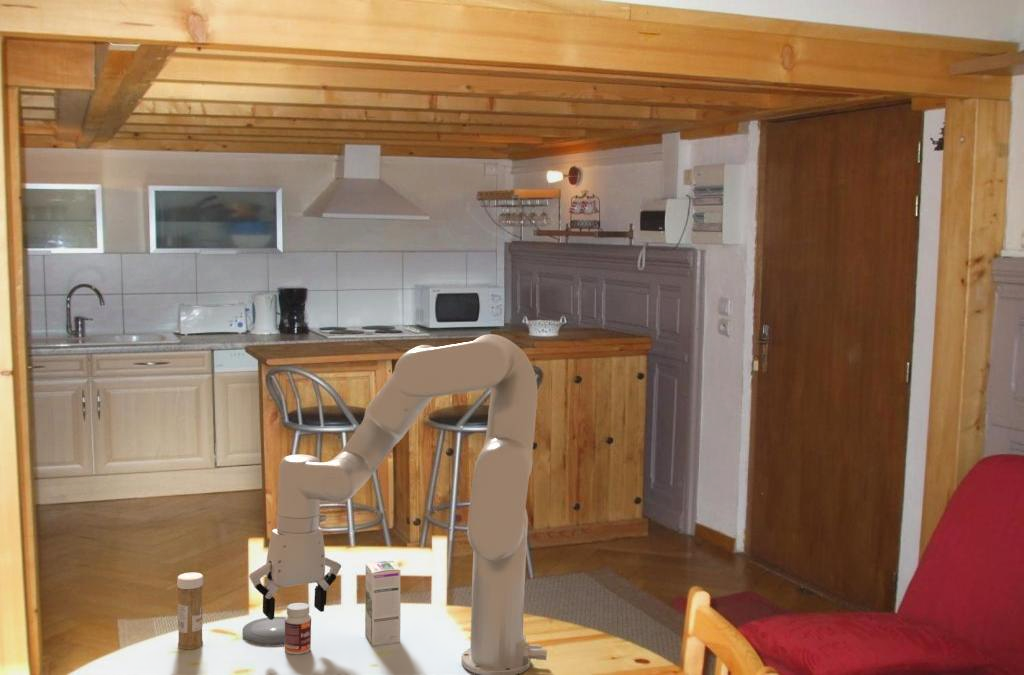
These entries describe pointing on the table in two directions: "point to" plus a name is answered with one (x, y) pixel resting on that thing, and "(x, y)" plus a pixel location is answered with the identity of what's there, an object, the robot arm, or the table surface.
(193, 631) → the sprinkles bottle
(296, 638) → the pill bottle
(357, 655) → the table surface
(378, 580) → the syrup box
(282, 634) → the dish
